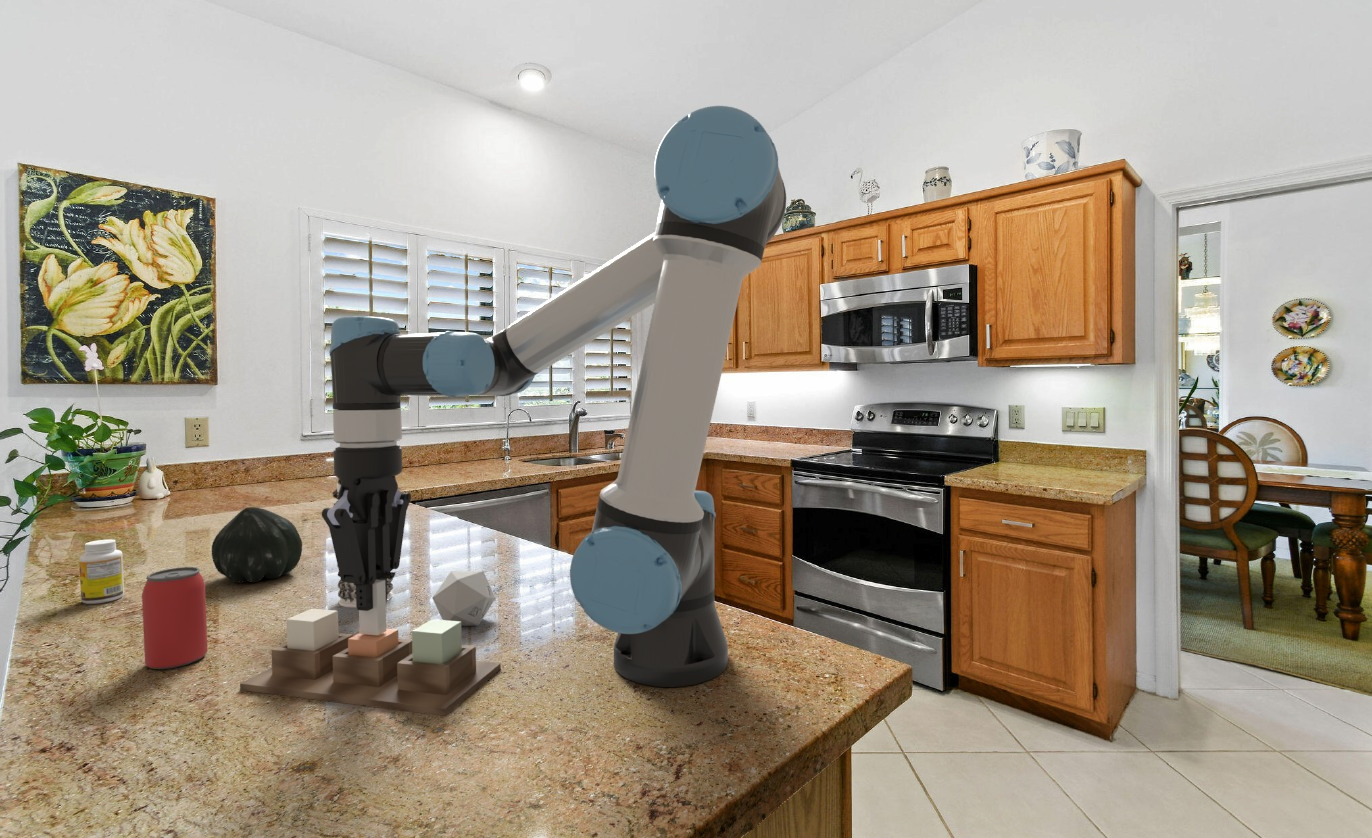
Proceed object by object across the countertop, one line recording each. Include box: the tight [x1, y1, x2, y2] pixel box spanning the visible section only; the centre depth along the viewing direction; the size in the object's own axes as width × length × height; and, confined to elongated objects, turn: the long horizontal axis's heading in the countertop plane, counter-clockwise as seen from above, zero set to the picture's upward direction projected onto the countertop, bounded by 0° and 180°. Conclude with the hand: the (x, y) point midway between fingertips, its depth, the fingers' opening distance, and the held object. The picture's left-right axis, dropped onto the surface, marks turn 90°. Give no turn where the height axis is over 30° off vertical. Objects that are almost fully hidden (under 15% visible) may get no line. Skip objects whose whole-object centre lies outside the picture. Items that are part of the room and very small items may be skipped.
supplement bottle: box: [78, 538, 125, 605], centre depth 110 cm, size 6×6×10 cm
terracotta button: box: [348, 628, 400, 658], centre depth 79 cm, size 4×4×4 cm
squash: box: [211, 506, 303, 584], centre depth 123 cm, size 14×15×15 cm
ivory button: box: [286, 608, 339, 651], centre depth 81 cm, size 4×4×4 cm
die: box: [432, 570, 496, 627], centre depth 98 cm, size 8×9×10 cm
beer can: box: [141, 566, 208, 670], centre depth 85 cm, size 7×7×12 cm
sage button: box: [411, 618, 463, 665], centre depth 77 cm, size 4×4×4 cm
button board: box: [239, 632, 502, 717], centre depth 79 cm, size 28×12×4 cm, turn 77°
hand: (372, 632), depth 79 cm, fingers closed
